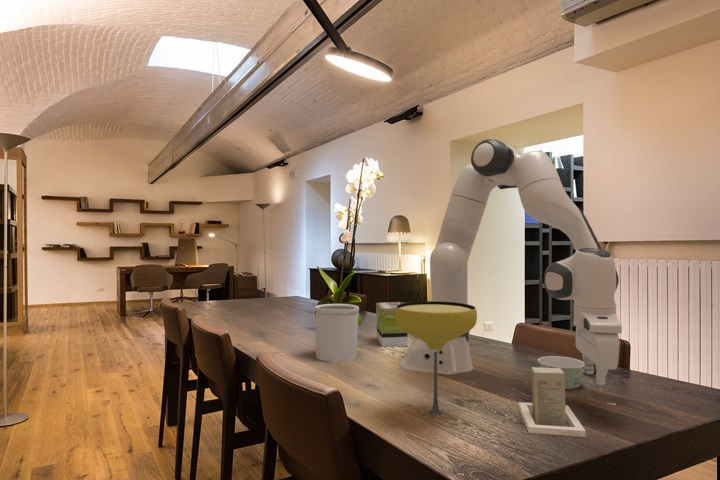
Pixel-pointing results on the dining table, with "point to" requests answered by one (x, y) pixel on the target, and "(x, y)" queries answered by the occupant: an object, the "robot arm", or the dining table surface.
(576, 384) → the food container
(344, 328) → the utensil holder
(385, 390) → the dining table surface
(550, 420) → the skincare box
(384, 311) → the tea box
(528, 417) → the beige flat frame
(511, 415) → the dining table surface
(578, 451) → the dining table surface
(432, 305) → the cocktail glass
